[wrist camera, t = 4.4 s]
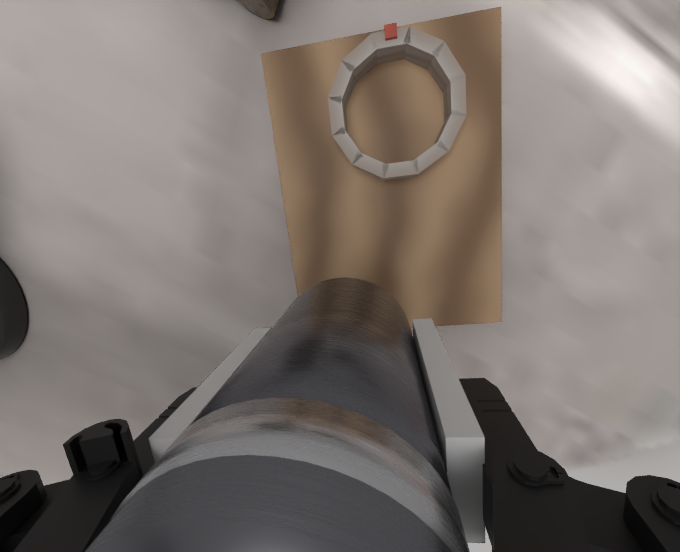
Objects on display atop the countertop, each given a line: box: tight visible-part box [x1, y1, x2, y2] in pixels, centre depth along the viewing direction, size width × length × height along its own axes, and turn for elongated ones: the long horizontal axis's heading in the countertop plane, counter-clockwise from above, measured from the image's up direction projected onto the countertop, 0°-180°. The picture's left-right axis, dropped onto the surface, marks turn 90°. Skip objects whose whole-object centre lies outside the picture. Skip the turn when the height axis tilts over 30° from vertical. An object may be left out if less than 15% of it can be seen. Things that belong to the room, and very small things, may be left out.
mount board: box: [261, 7, 502, 327], centre depth 26 cm, size 18×24×4 cm
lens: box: [85, 277, 469, 552], centre depth 9 cm, size 6×6×11 cm
